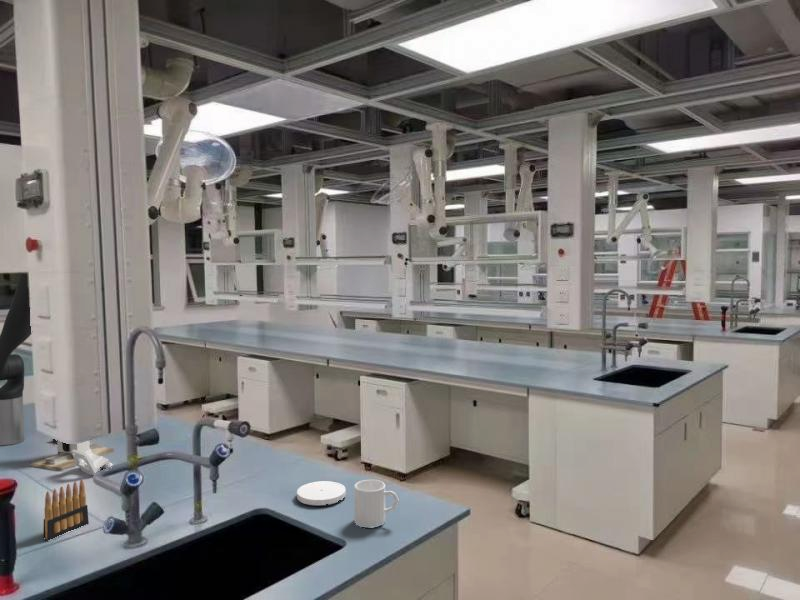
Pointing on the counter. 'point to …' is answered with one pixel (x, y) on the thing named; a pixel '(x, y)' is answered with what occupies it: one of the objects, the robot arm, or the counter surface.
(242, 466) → the counter surface
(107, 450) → the rail board
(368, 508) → the mug
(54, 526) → the ammunition clip
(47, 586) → the counter surface
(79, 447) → the block
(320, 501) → the plastic lid
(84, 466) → the mounting bracket
